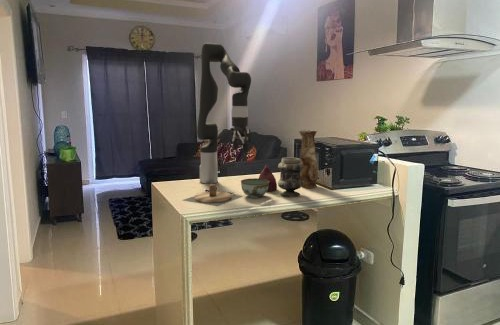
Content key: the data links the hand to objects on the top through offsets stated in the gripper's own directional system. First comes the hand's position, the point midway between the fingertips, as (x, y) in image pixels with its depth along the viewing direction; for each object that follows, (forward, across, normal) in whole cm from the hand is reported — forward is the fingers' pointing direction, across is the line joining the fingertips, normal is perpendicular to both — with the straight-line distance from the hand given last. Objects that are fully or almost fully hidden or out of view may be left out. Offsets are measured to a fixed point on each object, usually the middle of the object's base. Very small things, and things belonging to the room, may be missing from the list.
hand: (240, 150), depth 180 cm
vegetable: (+22, -4, +18) cm, 29 cm away
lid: (+21, -2, -14) cm, 26 cm away
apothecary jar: (+22, +12, +21) cm, 33 cm away
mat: (+22, -2, -14) cm, 26 cm away
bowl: (+22, +6, +4) cm, 23 cm away
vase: (+22, +2, +41) cm, 47 cm away
